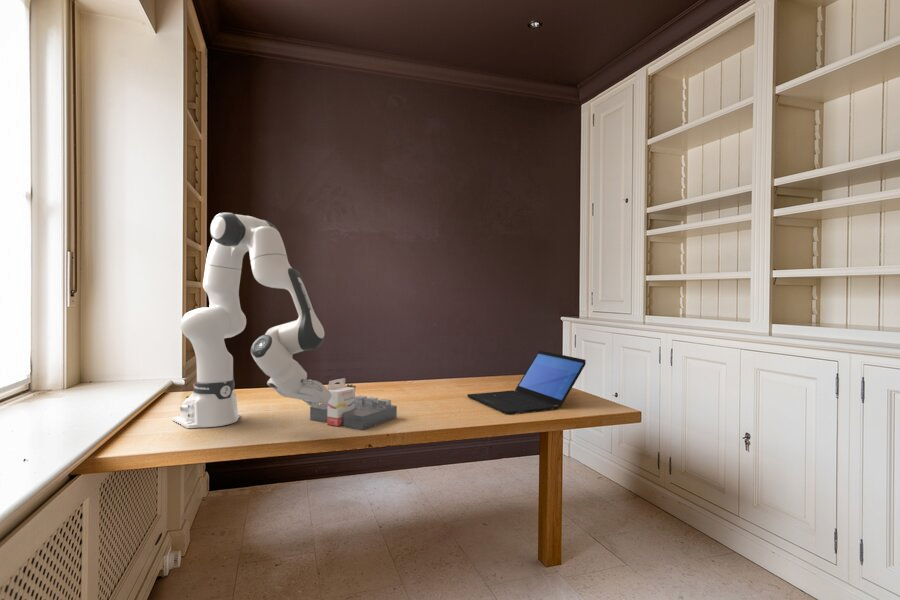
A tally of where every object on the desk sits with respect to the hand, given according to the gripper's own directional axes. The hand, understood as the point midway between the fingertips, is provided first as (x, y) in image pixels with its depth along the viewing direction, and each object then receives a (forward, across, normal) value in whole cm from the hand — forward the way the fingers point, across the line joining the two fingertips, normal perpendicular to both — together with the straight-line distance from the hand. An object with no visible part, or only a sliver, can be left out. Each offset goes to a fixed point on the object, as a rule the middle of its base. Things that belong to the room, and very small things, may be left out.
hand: (315, 404), depth 154 cm
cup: (+28, +15, -16) cm, 36 cm away
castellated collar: (+19, 0, -8) cm, 21 cm away
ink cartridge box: (+14, 0, -2) cm, 14 cm away
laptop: (+60, -41, -49) cm, 88 cm away
